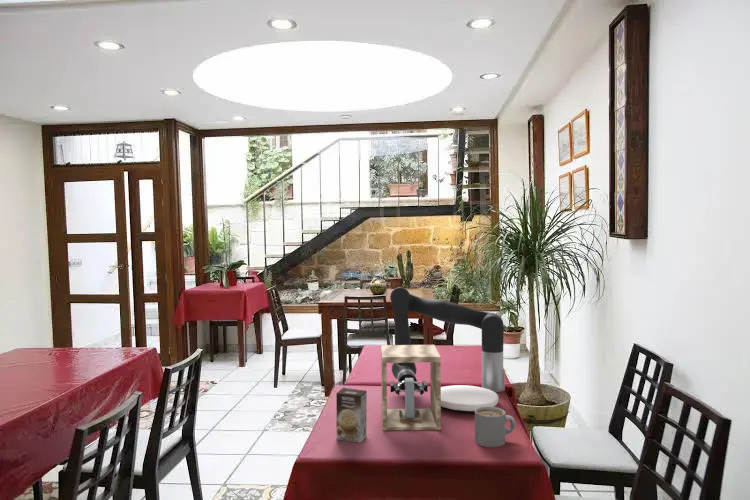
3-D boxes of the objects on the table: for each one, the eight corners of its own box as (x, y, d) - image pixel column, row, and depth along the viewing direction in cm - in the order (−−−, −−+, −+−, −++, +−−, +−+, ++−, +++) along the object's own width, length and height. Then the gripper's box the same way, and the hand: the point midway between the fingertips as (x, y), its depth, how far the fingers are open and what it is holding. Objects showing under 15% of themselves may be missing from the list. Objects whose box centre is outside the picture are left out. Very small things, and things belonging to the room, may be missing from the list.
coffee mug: (476, 446, 172) (476, 416, 171) (473, 434, 182) (473, 406, 181) (518, 447, 170) (518, 417, 170) (513, 435, 180) (513, 407, 180)
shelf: (434, 411, 205) (434, 344, 204) (440, 429, 186) (440, 356, 185) (381, 411, 205) (381, 345, 204) (382, 430, 186) (382, 357, 185)
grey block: (413, 414, 199) (413, 377, 198) (414, 420, 193) (414, 382, 192) (405, 414, 199) (405, 377, 198) (406, 420, 193) (405, 382, 192)
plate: (429, 382, 227) (491, 383, 227) (429, 398, 227) (491, 398, 226) (435, 396, 199) (505, 396, 199) (435, 414, 199) (506, 414, 198)
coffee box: (335, 439, 178) (334, 392, 178) (342, 432, 184) (342, 387, 184) (360, 443, 175) (360, 395, 174) (367, 436, 181) (367, 389, 181)
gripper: (389, 371, 213) (390, 382, 197) (424, 370, 213) (429, 382, 197) (389, 389, 213) (391, 402, 197) (424, 388, 213) (429, 402, 197)
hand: (410, 392), depth 197 cm, fingers open, 8 cm apart
